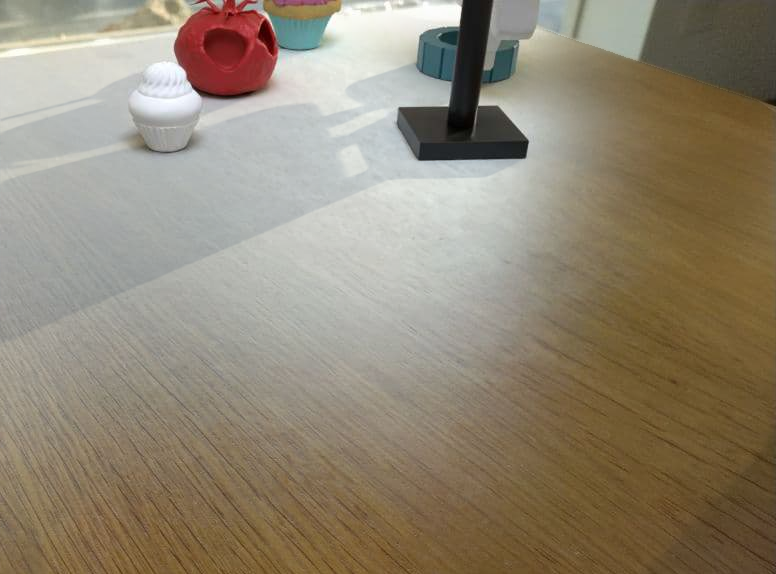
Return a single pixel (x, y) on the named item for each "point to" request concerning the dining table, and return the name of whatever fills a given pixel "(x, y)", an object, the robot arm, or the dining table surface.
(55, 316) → the dining table surface
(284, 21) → the cupcake
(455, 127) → the stand
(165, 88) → the muffin
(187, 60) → the pomegranate
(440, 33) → the ring
